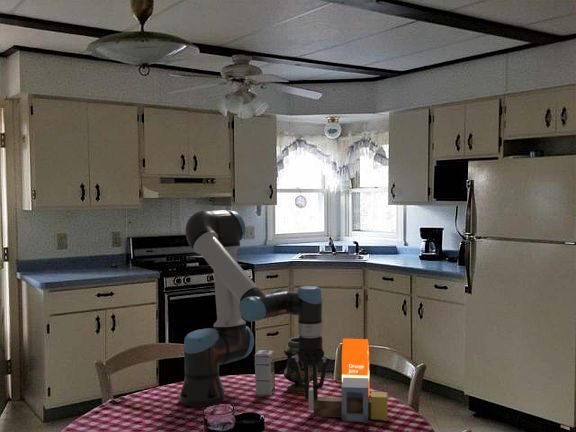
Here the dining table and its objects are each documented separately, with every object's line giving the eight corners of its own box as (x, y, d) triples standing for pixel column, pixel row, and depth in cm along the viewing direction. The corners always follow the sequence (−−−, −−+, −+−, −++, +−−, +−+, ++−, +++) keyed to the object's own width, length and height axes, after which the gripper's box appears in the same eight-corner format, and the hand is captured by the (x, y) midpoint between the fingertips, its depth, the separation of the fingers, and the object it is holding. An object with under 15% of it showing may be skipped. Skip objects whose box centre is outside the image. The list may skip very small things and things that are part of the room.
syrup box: (271, 395, 215) (270, 354, 214) (255, 394, 216) (254, 353, 216) (275, 390, 220) (274, 350, 220) (259, 389, 222) (258, 349, 221)
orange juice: (344, 392, 217) (343, 335, 217) (369, 393, 216) (369, 336, 215) (341, 399, 210) (341, 341, 209) (368, 401, 208) (367, 342, 207)
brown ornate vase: (318, 394, 215) (317, 343, 215) (283, 394, 216) (282, 343, 215) (316, 383, 227) (316, 335, 227) (284, 384, 228) (283, 335, 227)
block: (371, 419, 191) (370, 396, 191) (371, 413, 196) (371, 391, 196) (387, 419, 190) (387, 397, 190) (387, 414, 195) (387, 392, 195)
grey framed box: (341, 420, 190) (341, 387, 190) (343, 409, 200) (343, 377, 199) (368, 421, 189) (367, 387, 188) (368, 410, 199) (368, 378, 198)
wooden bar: (313, 416, 194) (313, 400, 194) (314, 412, 198) (314, 396, 198) (371, 418, 192) (371, 402, 192) (371, 414, 195) (371, 398, 195)
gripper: (288, 337, 193) (289, 412, 193) (330, 338, 191) (331, 414, 191) (291, 332, 200) (292, 404, 201) (331, 333, 198) (333, 405, 199)
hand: (311, 409), depth 196 cm, fingers closed
